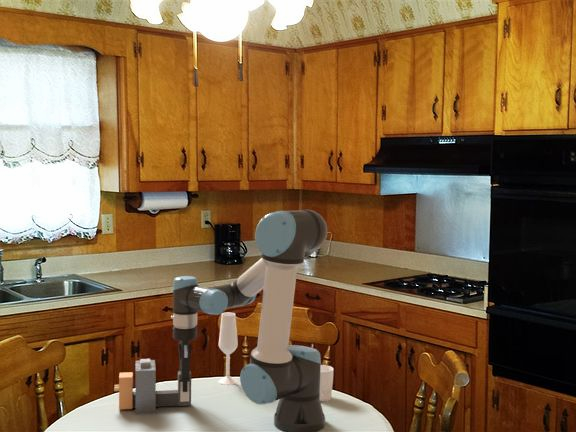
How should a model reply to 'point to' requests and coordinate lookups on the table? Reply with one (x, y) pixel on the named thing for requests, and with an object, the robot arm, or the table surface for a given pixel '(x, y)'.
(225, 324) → the champagne flute
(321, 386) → the white cup
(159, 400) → the grey orange-ended bar
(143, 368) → the grey u-shaped bracket
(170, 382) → the table surface
